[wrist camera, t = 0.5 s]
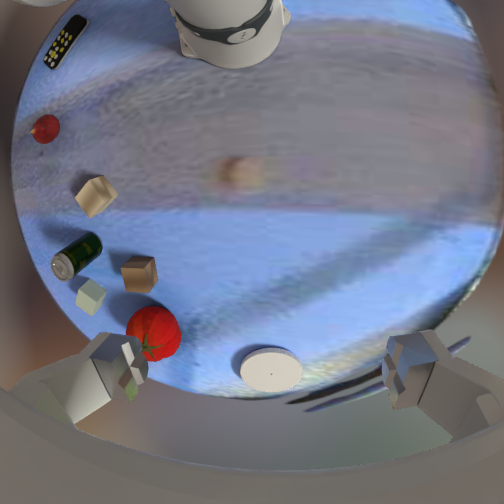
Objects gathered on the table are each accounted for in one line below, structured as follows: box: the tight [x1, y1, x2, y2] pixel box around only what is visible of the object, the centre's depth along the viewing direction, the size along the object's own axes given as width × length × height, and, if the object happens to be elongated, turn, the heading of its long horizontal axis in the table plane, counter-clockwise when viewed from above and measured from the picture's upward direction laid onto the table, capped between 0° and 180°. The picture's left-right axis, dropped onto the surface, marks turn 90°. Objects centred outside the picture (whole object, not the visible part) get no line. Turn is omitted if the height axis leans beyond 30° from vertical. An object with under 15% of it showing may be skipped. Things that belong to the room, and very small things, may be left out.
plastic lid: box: [240, 348, 303, 392], centre depth 59 cm, size 14×14×2 cm
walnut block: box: [121, 257, 158, 293], centre depth 50 cm, size 5×5×5 cm
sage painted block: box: [75, 278, 107, 316], centre depth 53 cm, size 5×5×5 cm
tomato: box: [126, 306, 181, 362], centre depth 52 cm, size 12×12×10 cm
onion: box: [30, 115, 60, 144], centre depth 38 cm, size 6×6×8 cm
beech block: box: [75, 175, 118, 218], centre depth 44 cm, size 5×5×5 cm
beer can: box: [51, 233, 103, 281], centre depth 45 cm, size 5×5×12 cm
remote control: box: [44, 15, 89, 70], centre depth 33 cm, size 6×13×2 cm, turn 137°
